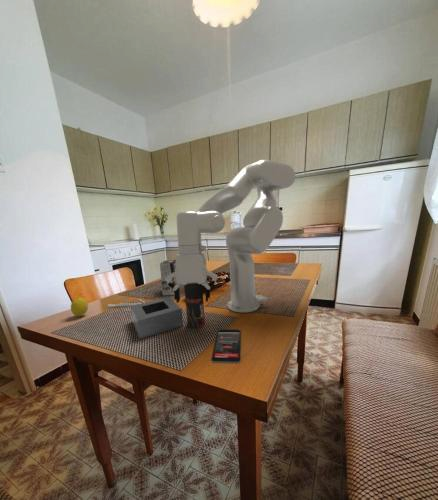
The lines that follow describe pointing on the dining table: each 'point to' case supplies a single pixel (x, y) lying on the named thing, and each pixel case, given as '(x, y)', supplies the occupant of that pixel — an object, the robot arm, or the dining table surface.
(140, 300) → the crossbow
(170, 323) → the socket block
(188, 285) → the deodorant
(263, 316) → the dining table surface
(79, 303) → the lemon
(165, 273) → the coffee box
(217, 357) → the smartphone
